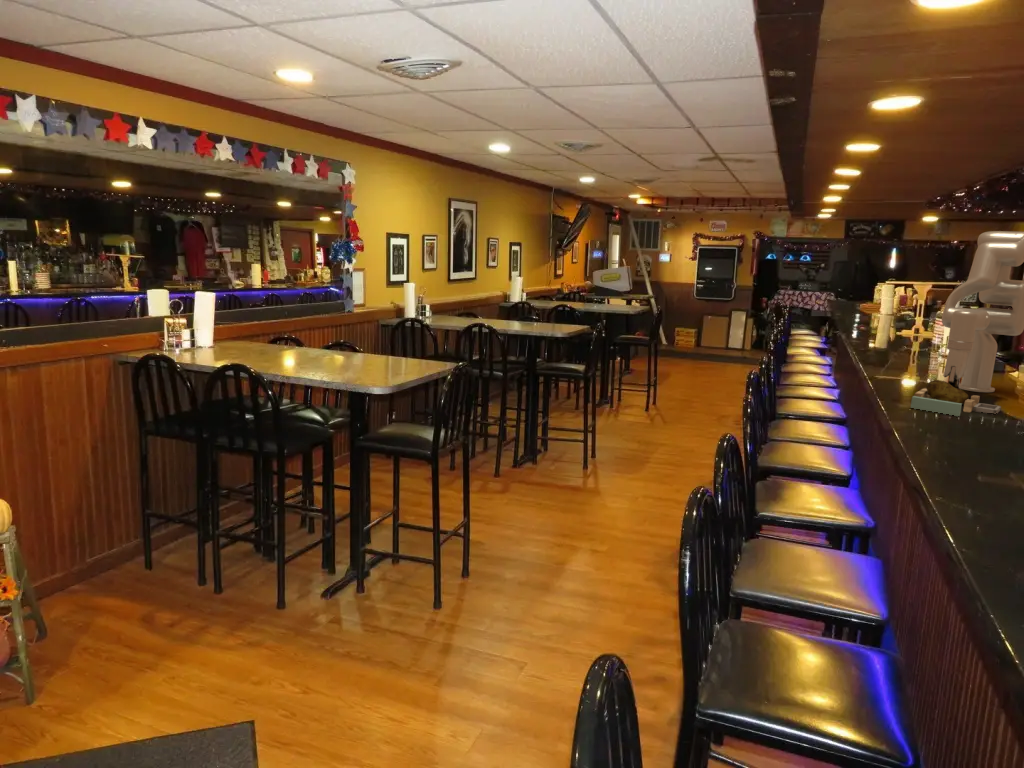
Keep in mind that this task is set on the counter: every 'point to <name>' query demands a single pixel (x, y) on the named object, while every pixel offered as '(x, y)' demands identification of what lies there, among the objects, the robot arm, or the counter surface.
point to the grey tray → (986, 408)
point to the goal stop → (936, 405)
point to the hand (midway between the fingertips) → (951, 396)
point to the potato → (946, 392)
